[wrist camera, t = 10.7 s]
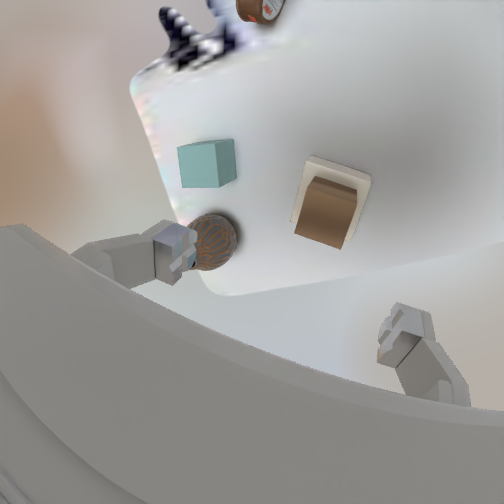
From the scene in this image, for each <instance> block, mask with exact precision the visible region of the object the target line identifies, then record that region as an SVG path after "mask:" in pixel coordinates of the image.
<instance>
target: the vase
mask: <svg viewBox="0 0 504 504" xmlns="http://www.w3.org/2000/svg"><path fill="white" fill-rule="evenodd" d="M187 227H188V228H190V229H193V230H196V232H197V241H196V242H195V243H194V246H195V248H196V258H195V261H194V263H193V265H192V267H191V268H190V269H189V270H194V269H197V270H203V271H209V270H213V269H216V268H218V267H220V266H222V265H223V264H225V263H226V262H227V261H228V260H229V259H230V257H231V256H232V254H233V253H234V251H235V248H236V243H237V235H236V231H235V229H234V227H233V225H232V224H231V223H230V222H229V221H228V220H227V219H226V218H224V217H222V216H219V215H214V214H209V215H204V216H201V217H199V218H197V219H195V220H194V221H192V222H191V223H190V224H189V225H188V226H187Z"/></svg>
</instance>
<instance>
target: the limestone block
mask: <svg viewBox="0 0 504 504" xmlns="http://www.w3.org/2000/svg"><path fill="white" fill-rule="evenodd" d="M314 176H318V177H321V178H324V179H327V180H330V181H333V182H336V183H339V184H342V185H345V186H347V187H350V188H353V189H356V190H357V207H356V210H355V213H354V216H353V218H352V221H351V224H350V227H349V229H348V232H347V235H346V237H345V241H348V242H351V239H352V237H353V234H354V231H355V229H356V226H357V223H358V221H359V218H360V215H361V213H362V210H363V207H364V204H365V201H366V198H367V196H368V193H369V190H370V187H371V184H372V181H371V178H370V175H369V174H366V173H363V172H361V171H358V170H355V169H352V168H349V167H346V166H343V165H340V164H337V163H334V162H331V161H328V160H325V159H321V158H318V157H315V156H312V155H311V156H310V157H309V158H308V159H307V160H306V162H305V166H304V170H303V174H302V178H301V181H300V185H299V189H298V193H297V197H296V201H295V204H294V208H293V212H292V216H291V219H290V222H293V223H296V224H297V222H298V218H299V215H300V211H301V208H302V204H303V200H304V197H305V193H306V189H307V187H308V185H309V184H310V182H311V181H312V179H313V178H314Z"/></svg>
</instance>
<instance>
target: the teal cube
mask: <svg viewBox="0 0 504 504" xmlns="http://www.w3.org/2000/svg"><path fill="white" fill-rule="evenodd" d="M177 151H178V159H179V167H180V175H181V182H182V188H219V187H221V186H223V185H225V184H226V183H228V182H230V181H232V180H233V179H235V178H237V176H236V165H235V153H234V141H233V139H228V140H215V141H204V142H196V143H192V144H188V145H184V146H180V147H177Z"/></svg>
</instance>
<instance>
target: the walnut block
mask: <svg viewBox="0 0 504 504" xmlns="http://www.w3.org/2000/svg"><path fill="white" fill-rule="evenodd" d="M356 207H357V190H356V189H353V188H350V187H347V186H345V185H342V184H339V183H336V182H333V181H330V180H327V179H324V178H321V177H318V176H314V178H313V179H312V181H311V182H310V184H309V185H308V187H307V189H306V193H305V197H304V200H303V204H302V208H301V211H300V215H299V218H298V222H297V225H296V229H295V232H294V233H295V234H298V235H301V236H304V237H306V238H309V239H312V240H315V241H318V242H321V243H324V244H326V245H329V246H332V247H335V248H338V249H340V250H341V248H342V245H343V242H344V240H345V237H346V235H347V232H348V229H349V227H350V224H351V221H352V218H353V216H354V213H355V210H356Z"/></svg>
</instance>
